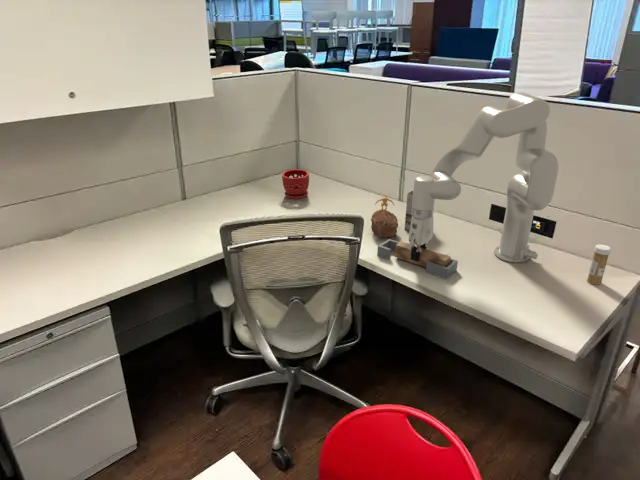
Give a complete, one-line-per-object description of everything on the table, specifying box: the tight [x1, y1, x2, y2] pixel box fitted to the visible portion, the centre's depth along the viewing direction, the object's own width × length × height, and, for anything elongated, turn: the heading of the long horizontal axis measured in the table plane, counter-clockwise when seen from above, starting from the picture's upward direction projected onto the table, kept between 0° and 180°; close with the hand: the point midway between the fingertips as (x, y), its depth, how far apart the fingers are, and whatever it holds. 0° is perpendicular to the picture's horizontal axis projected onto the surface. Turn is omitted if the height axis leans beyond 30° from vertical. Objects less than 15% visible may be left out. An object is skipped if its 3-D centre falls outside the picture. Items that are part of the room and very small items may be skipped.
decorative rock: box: [370, 208, 399, 238], centre depth 202 cm, size 13×11×10 cm
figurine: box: [374, 194, 395, 210], centre depth 214 cm, size 8×6×12 cm
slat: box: [394, 241, 452, 268], centre depth 178 cm, size 20×4×5 cm, turn 51°
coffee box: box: [404, 190, 413, 231], centre depth 206 cm, size 9×6×16 cm
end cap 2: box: [425, 257, 459, 280], centre depth 174 cm, size 8×8×4 cm
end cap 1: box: [376, 238, 400, 260], centre depth 187 cm, size 5×8×4 cm, turn 141°
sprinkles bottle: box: [586, 243, 612, 286], centre depth 165 cm, size 5×5×14 cm
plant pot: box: [281, 169, 310, 200], centre depth 241 cm, size 13×13×12 cm
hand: (418, 257), depth 180 cm, fingers closed on slat, 4 cm apart
